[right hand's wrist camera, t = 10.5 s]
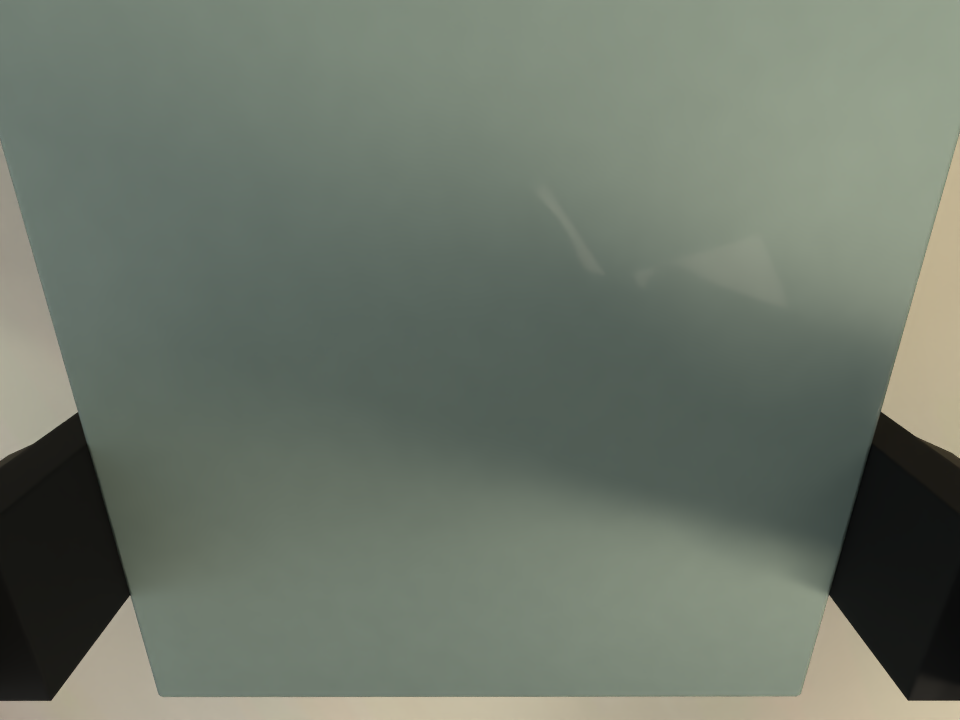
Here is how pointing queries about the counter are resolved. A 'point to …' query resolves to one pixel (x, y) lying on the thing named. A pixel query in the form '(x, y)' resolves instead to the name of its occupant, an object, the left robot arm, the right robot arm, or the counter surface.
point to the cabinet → (479, 323)
